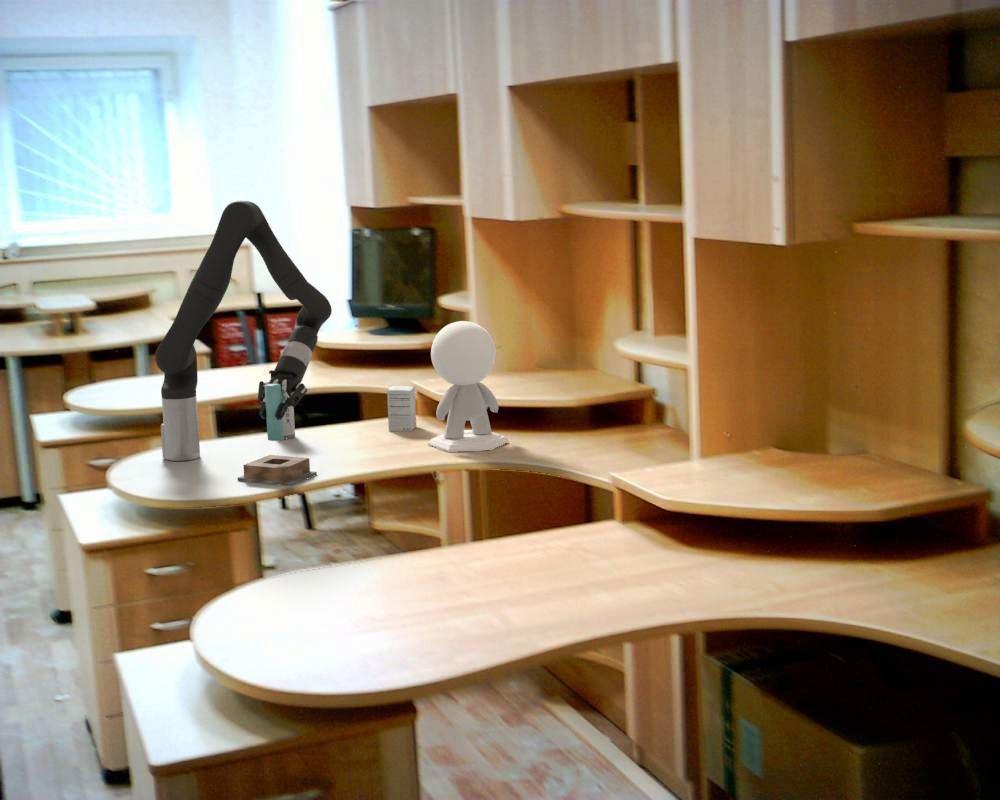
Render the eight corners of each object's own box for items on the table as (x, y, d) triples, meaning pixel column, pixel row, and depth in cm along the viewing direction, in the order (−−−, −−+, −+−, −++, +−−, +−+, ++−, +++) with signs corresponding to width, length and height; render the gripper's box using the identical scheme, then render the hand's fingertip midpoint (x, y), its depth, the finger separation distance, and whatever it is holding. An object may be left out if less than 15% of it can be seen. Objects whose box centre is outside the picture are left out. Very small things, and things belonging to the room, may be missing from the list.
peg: (264, 440, 319) (261, 386, 316) (273, 437, 322) (270, 383, 320) (278, 441, 317) (274, 386, 315) (286, 437, 321) (283, 384, 318)
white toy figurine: (476, 432, 372) (473, 315, 365) (520, 446, 353) (518, 322, 346) (418, 441, 361) (414, 321, 354) (459, 456, 342) (456, 328, 336)
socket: (237, 480, 319) (236, 464, 319) (264, 470, 330) (263, 454, 329) (291, 485, 313) (290, 469, 312) (316, 474, 324) (315, 458, 323)
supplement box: (393, 426, 384) (391, 385, 381) (417, 426, 383) (415, 385, 380) (387, 431, 376) (386, 389, 374) (412, 431, 375) (410, 390, 373)
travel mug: (274, 435, 374) (271, 369, 370) (296, 435, 374) (293, 368, 370) (270, 439, 368) (266, 372, 364) (292, 439, 367) (289, 372, 364)
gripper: (264, 353, 326) (239, 407, 317) (311, 355, 320) (287, 410, 311) (276, 370, 331) (253, 424, 323) (322, 372, 326) (300, 427, 317)
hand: (270, 417), depth 317 cm, fingers closed on peg, 4 cm apart
